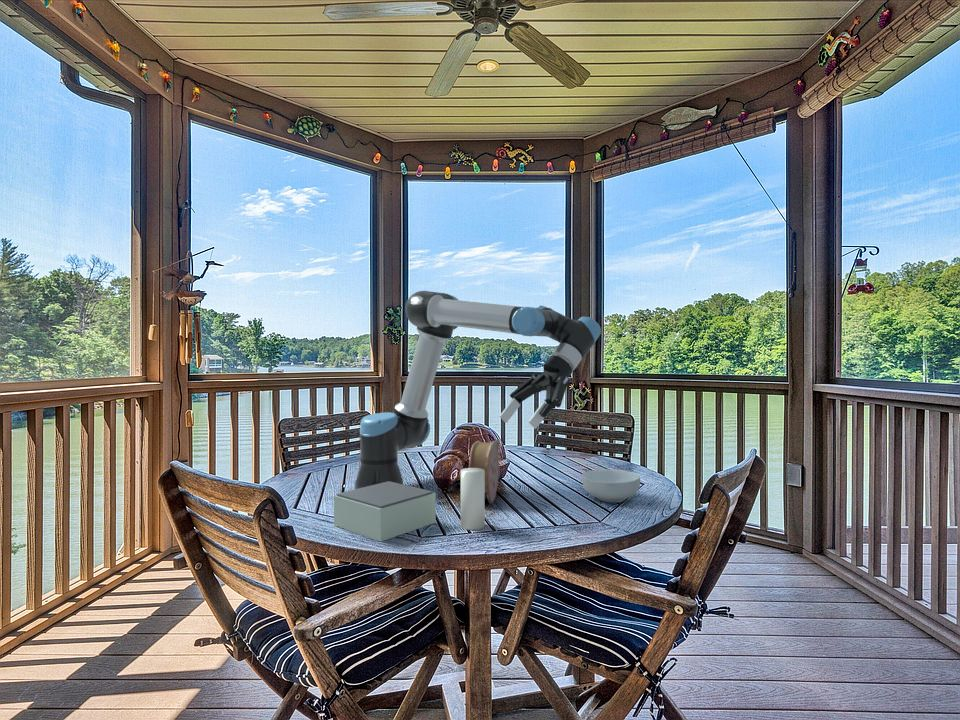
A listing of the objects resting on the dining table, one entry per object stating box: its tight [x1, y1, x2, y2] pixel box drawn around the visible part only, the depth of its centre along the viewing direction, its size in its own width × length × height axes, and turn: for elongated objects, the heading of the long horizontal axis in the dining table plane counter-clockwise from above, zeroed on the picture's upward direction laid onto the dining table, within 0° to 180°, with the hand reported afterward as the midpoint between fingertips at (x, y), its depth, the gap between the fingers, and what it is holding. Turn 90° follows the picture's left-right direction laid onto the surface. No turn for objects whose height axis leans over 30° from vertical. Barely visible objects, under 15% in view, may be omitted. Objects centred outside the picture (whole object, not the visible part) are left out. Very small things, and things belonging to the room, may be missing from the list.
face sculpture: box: [468, 438, 501, 504], centre depth 163 cm, size 20×7×17 cm, turn 171°
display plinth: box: [333, 481, 437, 542], centre depth 139 cm, size 18×18×8 cm
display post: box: [460, 467, 486, 531], centre depth 138 cm, size 6×6×14 cm
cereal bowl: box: [581, 468, 641, 503], centre depth 162 cm, size 17×17×7 cm
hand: (516, 422), depth 144 cm, fingers open, 13 cm apart
